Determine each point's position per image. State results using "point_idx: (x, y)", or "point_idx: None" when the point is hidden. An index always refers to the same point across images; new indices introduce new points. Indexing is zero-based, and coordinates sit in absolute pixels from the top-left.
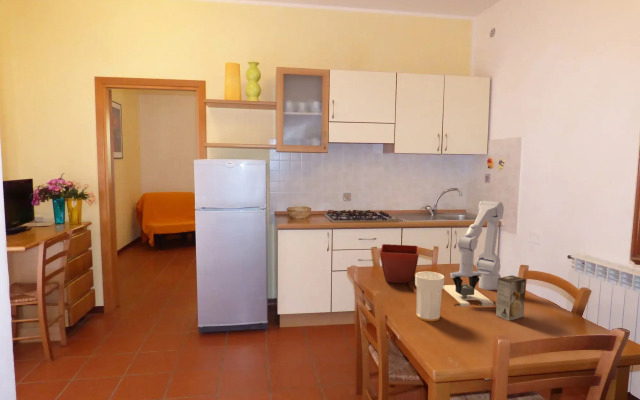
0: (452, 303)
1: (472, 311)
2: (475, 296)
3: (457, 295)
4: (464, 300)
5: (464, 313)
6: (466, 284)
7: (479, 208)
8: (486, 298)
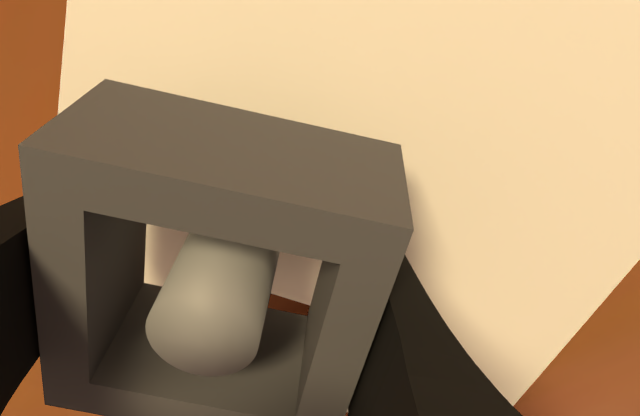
0: (10, 177)
1: None
2: (468, 231)
3: (187, 71)
4: (159, 279)
5: (14, 408)
6: (377, 236)
7: None
8: (544, 342)
